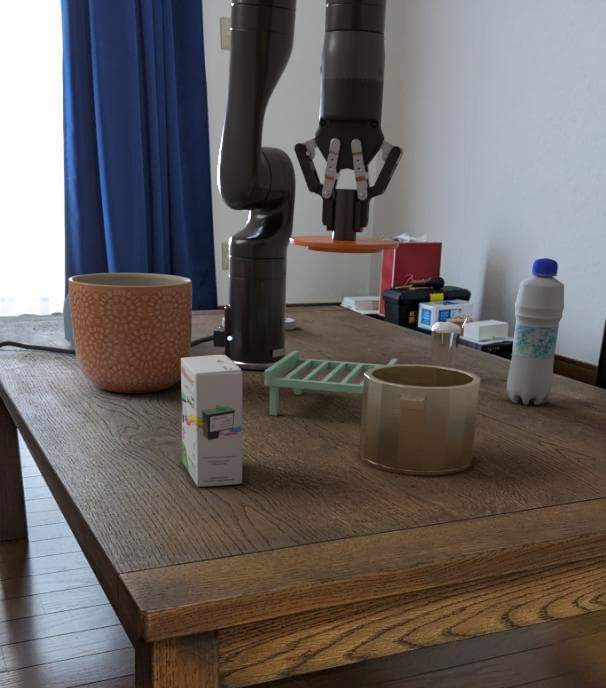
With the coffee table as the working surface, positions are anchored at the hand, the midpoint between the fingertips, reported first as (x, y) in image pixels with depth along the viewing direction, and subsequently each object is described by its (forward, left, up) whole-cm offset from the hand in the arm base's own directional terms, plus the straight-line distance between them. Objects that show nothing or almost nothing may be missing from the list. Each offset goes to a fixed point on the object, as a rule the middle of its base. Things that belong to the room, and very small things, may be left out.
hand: (344, 230), depth 113 cm
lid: (0, 0, -2) cm, 2 cm away
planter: (-31, +3, -23) cm, 39 cm away
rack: (-1, +1, -23) cm, 23 cm away
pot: (+13, -19, -23) cm, 33 cm away
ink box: (-7, -32, -23) cm, 40 cm away
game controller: (-29, +60, -23) cm, 71 cm away
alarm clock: (-46, +31, -23) cm, 60 cm away
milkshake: (+12, +25, -23) cm, 37 cm away
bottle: (+25, +15, -23) cm, 38 cm away
